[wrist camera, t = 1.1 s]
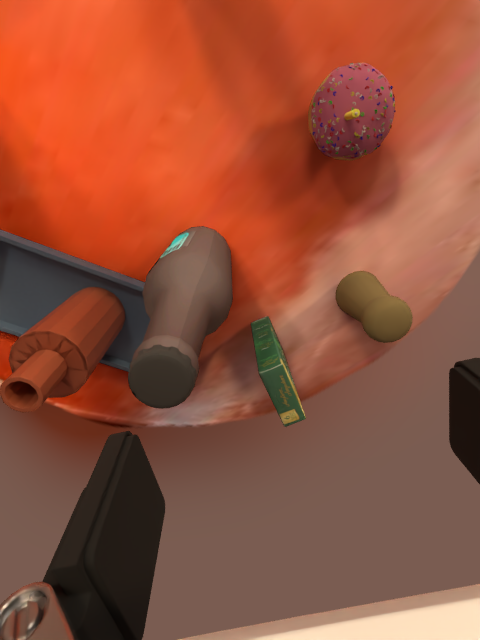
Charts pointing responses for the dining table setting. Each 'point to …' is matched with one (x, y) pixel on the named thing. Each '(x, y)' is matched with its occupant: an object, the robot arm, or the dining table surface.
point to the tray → (64, 292)
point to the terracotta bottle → (62, 349)
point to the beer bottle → (181, 315)
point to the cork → (373, 307)
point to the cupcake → (351, 112)
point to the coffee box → (276, 372)
